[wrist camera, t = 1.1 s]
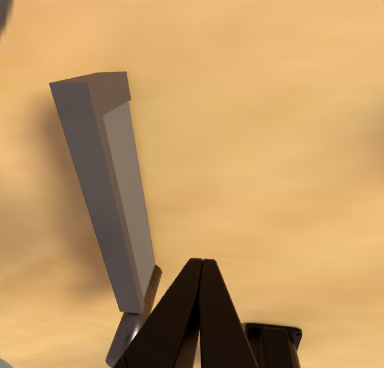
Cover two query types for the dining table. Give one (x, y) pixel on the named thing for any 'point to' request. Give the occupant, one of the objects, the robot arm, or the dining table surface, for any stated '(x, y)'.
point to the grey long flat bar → (109, 177)
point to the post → (133, 321)
